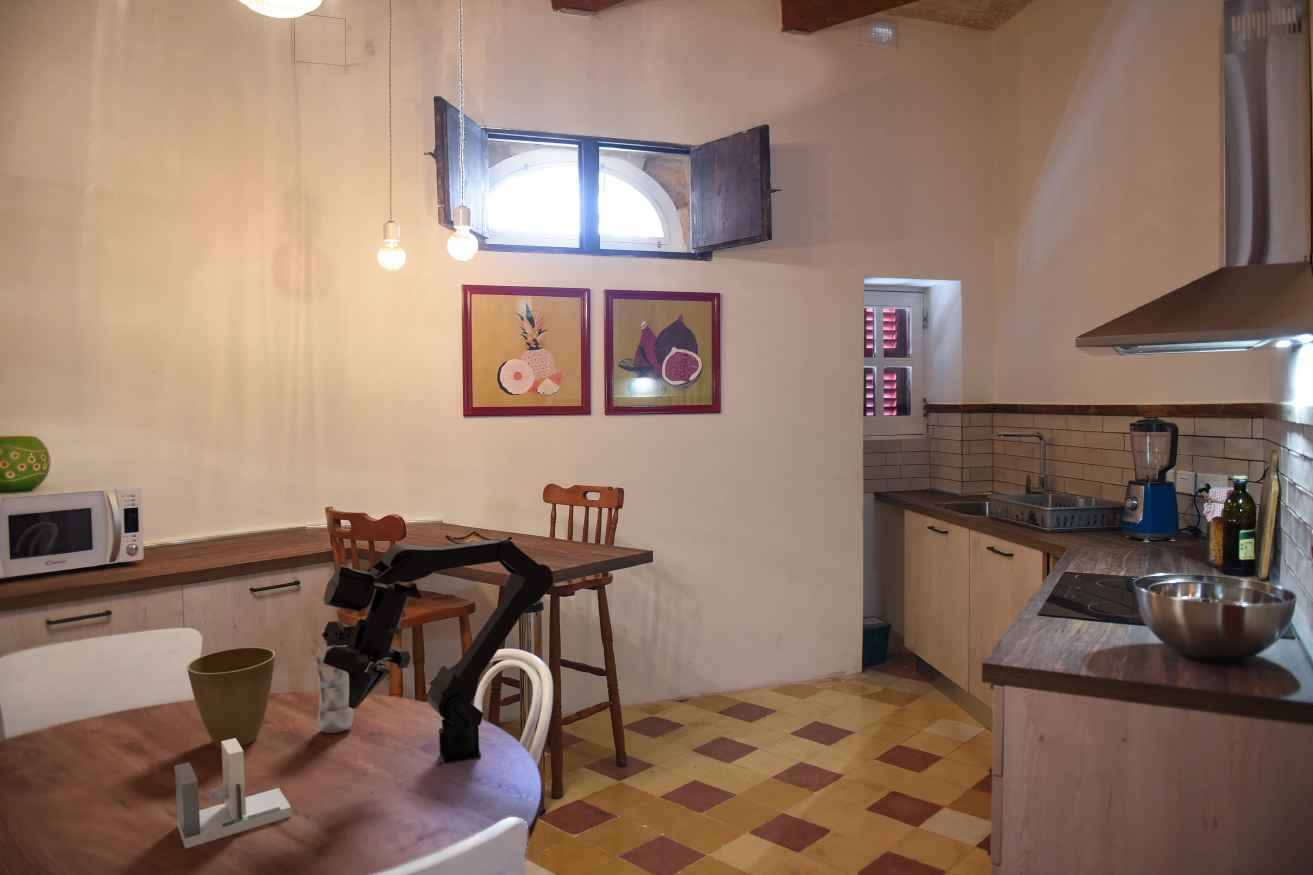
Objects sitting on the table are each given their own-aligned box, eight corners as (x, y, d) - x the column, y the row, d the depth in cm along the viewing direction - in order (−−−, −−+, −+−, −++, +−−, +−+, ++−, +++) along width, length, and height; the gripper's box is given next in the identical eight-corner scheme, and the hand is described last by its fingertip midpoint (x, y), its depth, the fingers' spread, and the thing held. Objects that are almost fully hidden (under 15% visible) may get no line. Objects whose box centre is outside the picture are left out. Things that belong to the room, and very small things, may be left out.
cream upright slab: (238, 799, 129) (235, 737, 129) (247, 817, 124) (244, 753, 123) (208, 807, 127) (205, 745, 126) (216, 827, 121) (213, 761, 120)
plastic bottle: (342, 738, 157) (338, 635, 156) (310, 736, 158) (306, 634, 157) (360, 725, 163) (357, 626, 162) (330, 722, 164) (326, 625, 163)
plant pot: (182, 740, 157) (178, 659, 156) (264, 719, 167) (261, 642, 166) (202, 765, 146) (198, 677, 145) (289, 740, 156) (285, 658, 155)
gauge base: (279, 796, 134) (278, 787, 134) (291, 816, 128) (290, 806, 127) (177, 826, 125) (177, 815, 125) (185, 848, 119) (184, 837, 119)
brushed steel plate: (192, 812, 126) (189, 761, 126) (200, 833, 120) (197, 780, 120) (177, 816, 125) (174, 765, 125) (184, 838, 119) (182, 784, 118)
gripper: (371, 604, 151) (342, 687, 149) (312, 602, 133) (278, 697, 131) (424, 622, 149) (395, 707, 146) (370, 623, 131) (336, 720, 128)
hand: (352, 707), depth 138 cm, fingers closed
